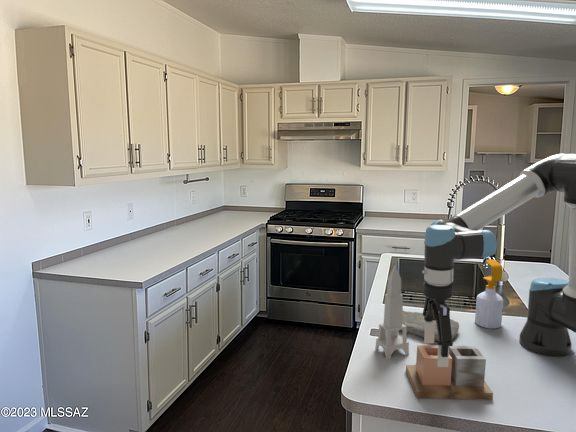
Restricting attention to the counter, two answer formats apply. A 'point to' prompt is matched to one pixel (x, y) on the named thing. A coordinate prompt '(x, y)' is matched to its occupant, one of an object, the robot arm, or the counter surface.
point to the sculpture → (393, 318)
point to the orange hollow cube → (432, 366)
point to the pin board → (446, 389)
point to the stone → (423, 324)
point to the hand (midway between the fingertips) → (435, 353)
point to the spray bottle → (490, 300)
